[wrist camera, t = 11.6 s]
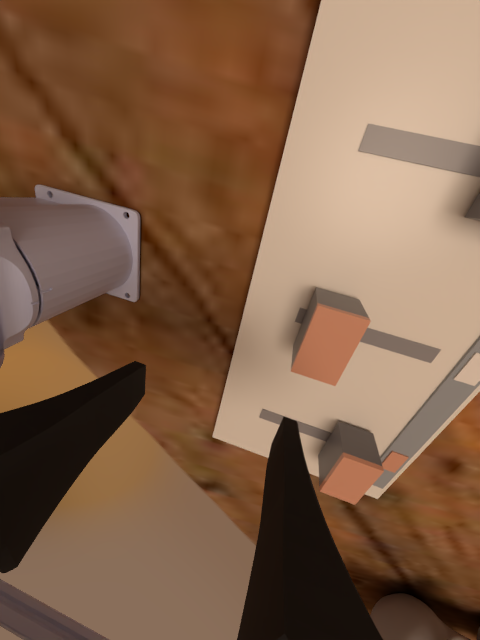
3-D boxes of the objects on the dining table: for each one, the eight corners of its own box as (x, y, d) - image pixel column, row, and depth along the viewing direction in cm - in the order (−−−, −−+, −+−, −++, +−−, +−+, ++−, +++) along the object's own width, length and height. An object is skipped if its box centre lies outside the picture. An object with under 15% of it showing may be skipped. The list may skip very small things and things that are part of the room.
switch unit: (216, 426, 28) (211, 439, 27) (329, -20, 12) (333, -53, 10) (374, 484, 26) (378, 502, 25) (765, 40, 10) (851, 10, 8)
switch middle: (293, 345, 19) (290, 371, 16) (315, 287, 17) (317, 305, 14) (330, 357, 19) (335, 386, 16) (359, 299, 17) (371, 321, 14)
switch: (318, 455, 24) (319, 491, 21) (338, 421, 21) (343, 456, 18) (348, 466, 23) (354, 504, 20) (373, 433, 21) (384, 471, 18)
